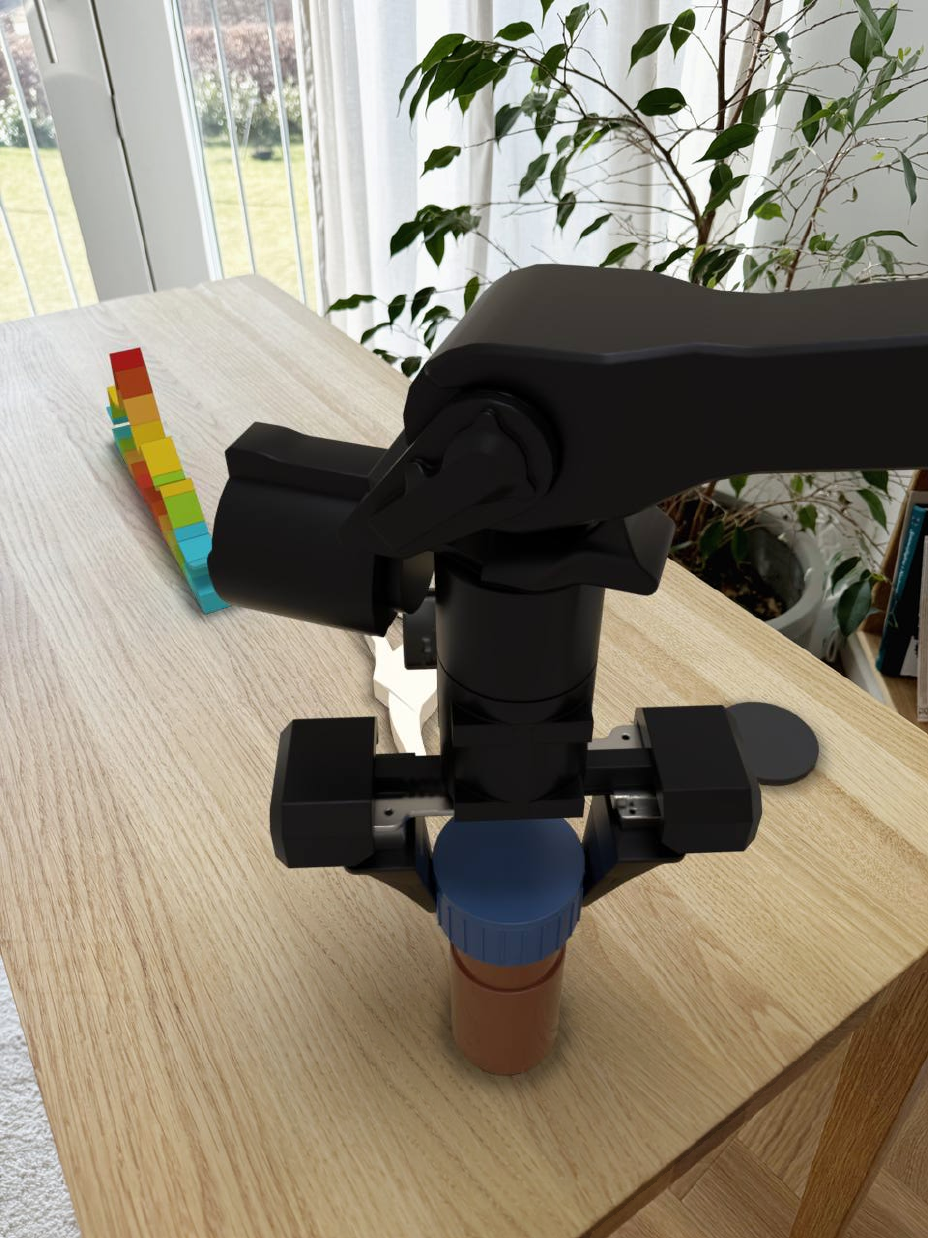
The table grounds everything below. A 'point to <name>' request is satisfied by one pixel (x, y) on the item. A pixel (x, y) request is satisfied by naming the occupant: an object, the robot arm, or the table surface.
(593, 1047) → the table surface
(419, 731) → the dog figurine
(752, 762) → the coaster
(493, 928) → the lid
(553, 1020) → the jar
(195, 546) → the chart
